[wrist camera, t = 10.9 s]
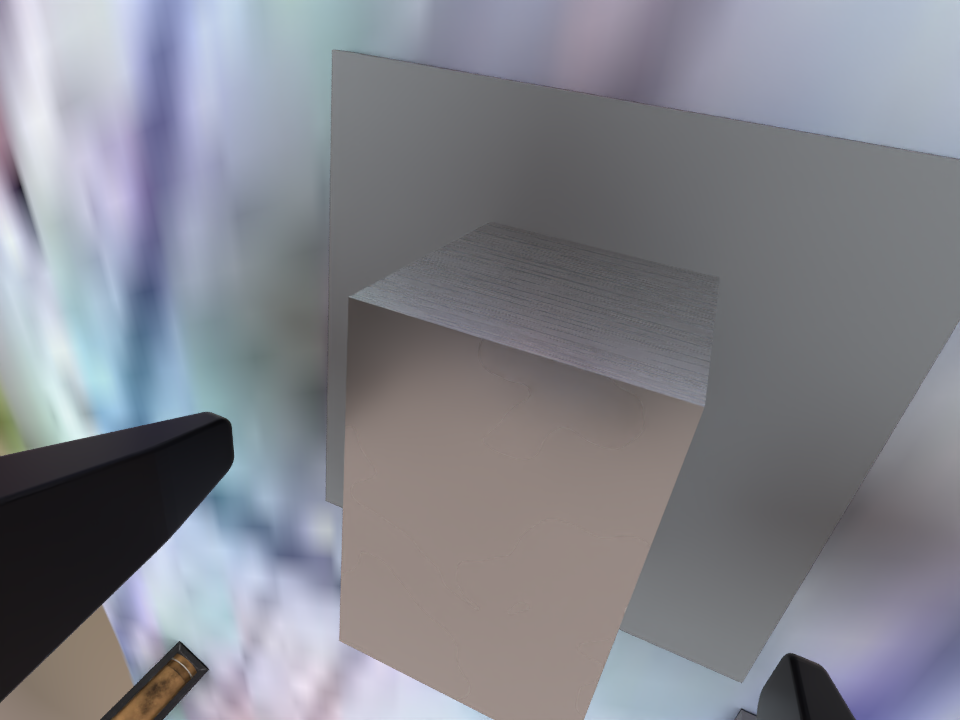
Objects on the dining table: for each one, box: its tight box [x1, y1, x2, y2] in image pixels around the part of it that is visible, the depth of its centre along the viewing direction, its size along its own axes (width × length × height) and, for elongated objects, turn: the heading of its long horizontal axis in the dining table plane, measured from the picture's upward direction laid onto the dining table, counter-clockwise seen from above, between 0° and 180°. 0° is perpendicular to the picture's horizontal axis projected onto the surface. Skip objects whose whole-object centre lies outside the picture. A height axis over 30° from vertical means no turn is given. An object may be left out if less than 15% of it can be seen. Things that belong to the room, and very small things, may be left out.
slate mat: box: [326, 50, 960, 683], centre depth 13 cm, size 12×12×1 cm
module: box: [339, 222, 720, 720], centre depth 11 cm, size 4×7×5 cm, turn 171°
